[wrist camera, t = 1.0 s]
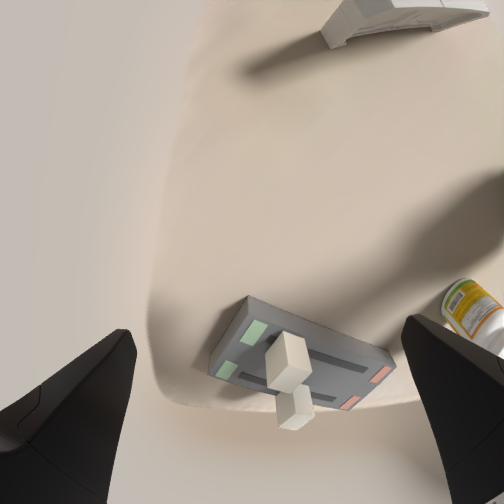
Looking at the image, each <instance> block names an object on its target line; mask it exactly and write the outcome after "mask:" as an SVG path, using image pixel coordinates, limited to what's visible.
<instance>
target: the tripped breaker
mask: <svg viewBox="0 0 504 504" xmlns="http://www.w3.org/2000/svg"><path fill="white" fill-rule="evenodd" d="M275 399H276V410H277V419H278V420H277V421H278V427H279V428H285V429H290V430H296V431H297V430H298V429H299V428H301V427H302V426H303V425H305V424H306V423H307V422H308V421H310V420H311V419H312V418H313V417H315V414H314V409H313V404H312V399H311V394H310V390H309V386H307V385H303V384H300V385H299V386H298V387H297V388H296V389H295V390H294V391H293V392H292V393H291V394H289V393H285V392H280V393H279V394H278V395H277V396H276V397H275Z"/></svg>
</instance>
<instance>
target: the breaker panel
mask: <svg viewBox="0 0 504 504" xmlns="http://www.w3.org/2000/svg"><path fill="white" fill-rule="evenodd" d="M283 331H285V332H287V333H290V334H293V335H295V336H298V337H301V338H304V339H305V343H306V347H307V351H308V355H309V359H310V363H311V368H312V373H311V374H310V375H309V376H308V377H307V378H306V379H305V380H304V381H303V382H302V383H301V384H303V385H307V386H309V390H310V394H311V399H312V404H313V405H318V406H323V407H329V408H334V409H340V410H346V411H349V410H350V409H351V408H353V407H354V406H355V405H356V404H357V403H358V402H360V401H361V400H362V399H363V398H364V397H365V396H367V395H368V394H369V393H370V392H371V391H372V390H373V389H374V388H375V387H376V386H378V385H379V384H380V383H381V382H382V381H383V380H384V379H385V378H386V377H387V376H388V375H389V374H390V373H391V372H392V371H393V370H394V369H395V368H396V367H397V366H396V364H395V362H394V360H393V358H392V356H391V355H390V353H389V351H387V350H385V349H382V348H379V347H376V346H374V345H371V344H368V343H365V342H363V341H360V340H357V339H355V338H352V337H349V336H347V335H344V334H342V333H339V332H336V331H334V330H331V329H329V328H326V327H324V326H321V325H319V324H316V323H314V322H311V321H309V320H306V319H304V318H301V317H299V316H296V315H294V314H291V313H289V312H287V311H284V310H282V309H279V308H277V307H275V306H272V305H270V304H267V303H265V302H263V301H260V300H258V299H256V298H253V297H251V296H249V295H248V297H247V298H246V300H245V302H244V303H243V305H242V306H241V308H240V310H239V311H238V313H237V314H236V316H235V318H234V319H233V321H232V322H231V324H230V325H229V327H228V329H227V330H226V332H225V333H224V335H223V336H222V338H221V340H220V341H219V343H218V344H217V346H216V347H215V349H214V351H213V352H212V354H211V355H210V360H209V367H208V374H207V375H209V376H212V377H215V378H218V379H221V380H224V381H227V382H230V383H233V384H236V385H240V386H243V387H246V388H249V389H253V390H256V391H260V392H263V393H267V394H271V395H275V396H277V395H278V394H279V393H280V392H281V391H277V390H274V389H270V388H267V375H266V362H265V353H266V352H267V351H268V350H269V348H270V347H271V346H272V344H273V343H274V342H275V341H276V339H277V338H278V337H279V335H280V334H281V333H282V332H283Z"/></svg>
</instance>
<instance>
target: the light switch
mask: <svg viewBox="0 0 504 504" xmlns="http://www.w3.org/2000/svg"><path fill="white" fill-rule="evenodd" d="M489 14H490V11H489V9H488V7H487V5H486V3H485V1H484V0H344V1H343V2H342V3H341V5H340V6H339V7H338V8H337V9H336V11H335V12H334V13H333V15H332V16H331V17H330V18H329V20H328V21H327V22H326V23H325V25H324V26H323V27H322V29H321V30H320V32H321V34H322V36H323V37H324V39H325V41H326V42H327V44H328V46H329V48H330V49H334V48H338V47H342V46H345V45H347V43H346V40H347V39H348V38H352V37H357V36H362V35H367V34H373V33H379V32H385V31H392V30H400V29H408V28H419V27H430V28H431V30H432V32H438V31H444V30H446V29H449V28H452V27H455V26H458V25H461V24H464V23H467V22H470V21H474V20H477V19H481V18H484V17H488V15H489Z"/></svg>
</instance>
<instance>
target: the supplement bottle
mask: <svg viewBox="0 0 504 504" xmlns="http://www.w3.org/2000/svg"><path fill="white" fill-rule="evenodd" d="M441 312H442V316H443V317H444V319H445V320H446V321H447V322H448V324H449V325H450V326H451V327H452V328H453V330H454V331H455V332H456V333H457V334H458V335H460V336H462V337H464V338H466V339H467V340H469V341H471V342H473V343H475V344H477V345H479V346H480V347H482V348H484V349H486V350H488V351H490V352H492V353H493V354H495V355H496V356H499V357H501V358H503V359H504V308H503V307H502V306H501V305H500V304H499V303H498V302H497V301H496V300H495V299H494V298H493V297H492V296H491V295H489V294H488V293H487V292H486V291H485V290H484V289H483V288H482V287H481V286H479V285H478V284H477V283H476V282H475V281H474V280H472V279H470V278H464V279H461V280H459V281H458V282H456V283H455V284H454V285H453V286H452V287H451V288H450V289H449V291H448V292H447V294H446V295H445V297H444V299H443V302H442V307H441Z"/></svg>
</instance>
